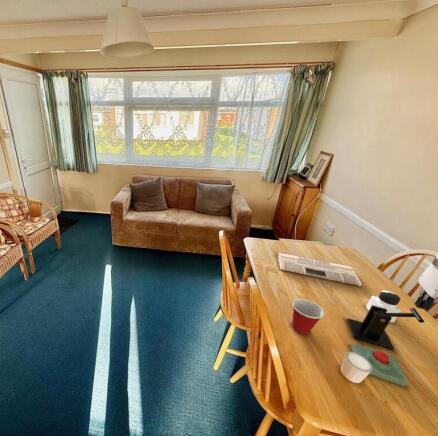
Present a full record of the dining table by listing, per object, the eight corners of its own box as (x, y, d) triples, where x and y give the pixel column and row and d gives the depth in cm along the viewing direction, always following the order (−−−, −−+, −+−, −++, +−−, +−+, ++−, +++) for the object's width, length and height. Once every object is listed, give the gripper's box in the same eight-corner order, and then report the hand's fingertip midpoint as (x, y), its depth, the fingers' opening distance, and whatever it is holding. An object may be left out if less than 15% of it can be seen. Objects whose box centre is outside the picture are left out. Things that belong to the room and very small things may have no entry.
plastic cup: (300, 315, 102) (308, 295, 97) (321, 336, 92) (331, 315, 87) (279, 320, 100) (286, 299, 95) (299, 342, 90) (308, 320, 85)
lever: (415, 311, 86) (415, 306, 85) (424, 323, 81) (423, 318, 80) (372, 311, 92) (371, 306, 92) (378, 322, 87) (377, 317, 87)
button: (384, 356, 81) (386, 353, 80) (388, 365, 78) (391, 362, 77) (371, 352, 82) (373, 348, 82) (375, 360, 80) (377, 357, 79)
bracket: (382, 330, 95) (396, 307, 90) (392, 350, 87) (409, 327, 81) (346, 319, 100) (357, 297, 94) (353, 338, 92) (366, 315, 86)
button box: (391, 360, 84) (396, 352, 82) (404, 386, 75) (410, 379, 74) (350, 346, 88) (354, 339, 87) (359, 370, 80) (363, 363, 78)
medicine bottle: (394, 323, 98) (407, 302, 93) (373, 318, 100) (385, 298, 95) (384, 310, 104) (396, 290, 99) (365, 307, 106) (376, 287, 101)
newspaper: (280, 270, 131) (281, 266, 130) (277, 253, 147) (278, 249, 146) (360, 287, 118) (362, 283, 117) (346, 266, 134) (348, 262, 133)
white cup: (367, 388, 75) (376, 375, 72) (342, 380, 77) (350, 367, 74) (358, 368, 81) (366, 355, 78) (335, 361, 83) (342, 349, 80)
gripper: (485, 283, 66) (449, 327, 74) (451, 257, 79) (423, 297, 86) (448, 275, 69) (417, 318, 77) (421, 251, 82) (397, 290, 89)
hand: (421, 307), depth 82 cm, fingers closed
